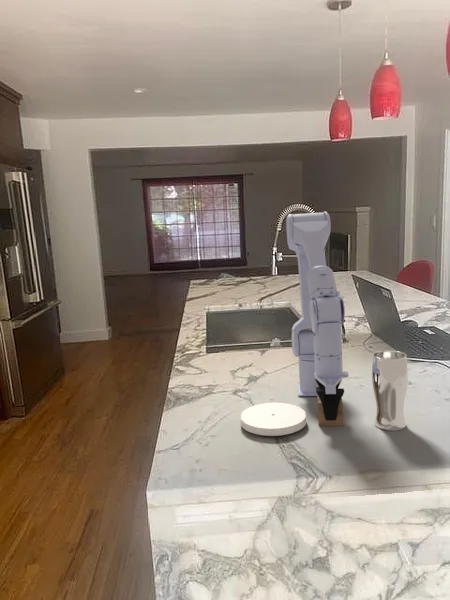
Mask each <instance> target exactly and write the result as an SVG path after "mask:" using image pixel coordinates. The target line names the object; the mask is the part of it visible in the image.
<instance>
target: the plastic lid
mask: <svg viewBox="0 0 450 600" xmlns="http://www.w3.org/2000/svg"><path fill="white" fill-rule="evenodd" d="M239 417H240V426H241V427H242V428H243V429H244V431H246V432H249V433H252V434H254V435H257V436H259V435H260V436H267V437H278V436H279V437H280V436H284V435H289V434H290V435H291V434H295V433H296V432H299V431H301V430H302V429H303V428H304V427H305V426H306V424H307V413H306V411H305V410H304V408H302V407H300V406H299V405H294V404H291V403H288V402H287V403H285V402H264V403H259V404H254V405H251V406H250V407H249V406H248V407H247V408H245V409H244V410H243V411H242V412H241V413H240V416H239Z"/></svg>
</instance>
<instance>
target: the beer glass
mask: <svg viewBox="0 0 450 600" xmlns="http://www.w3.org/2000/svg"><path fill="white" fill-rule="evenodd" d="M371 360H372V361H371V384H372V387H373V388H372V389H373V393H374V398H375V399H374V400H375V405H376V414H375V419H374V426H375V427H377V428H378V429H380V430H383V431H388V432H397V431H402V430H403V429H405V428H406V425H407V424H406V418H405V414H404V407H405V401H406V400H405V399H406V394H407V390H408V389H407V388H408V380H409V375H408V374H409V373H408V370H409V369H408V359H407V354H406V353H404V352H403V351H398V350H391V349H390V350H378V351H374V352H373V353H372V359H371Z"/></svg>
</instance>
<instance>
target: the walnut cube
mask: <svg viewBox="0 0 450 600" xmlns="http://www.w3.org/2000/svg"><path fill="white" fill-rule="evenodd" d="M316 397H317V416H318V417H317V419H318V426H321V427H325V426H328V427H329V426H331V427H337V426H339V427H340V426H341V427H342V426H344V411H343V407H344V406H343V400H342V398H341V400H340V403H339V407H338V413H337V418H336V420H326V419H325V416H324V411H323V406H322V403H321V400H320V398H319V396H318V395H317V396H316Z"/></svg>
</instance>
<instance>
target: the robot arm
mask: <svg viewBox="0 0 450 600" xmlns="http://www.w3.org/2000/svg"><path fill="white" fill-rule="evenodd" d="M285 223H286V224H285V226H286V229H285V230H286V240H287V245H288V249H289V250H290V251H293V252H295V255H296V258H297V265H298V267H297V268H298V280H299V282H298V283H299V292H300V293H299V295H300V306H301V317H300V318H299V320H297V321H296V322H294V324H292V328H291V350H292V353H293V355H294V357H296V358H298V371H299V372H298V374H299V376H298V377H299V379H298V380H299V381H298V383H297V384H298V387H297V389H298V392H297V396H298V397H317V395H318V396H319V398H320V400H321V403H322V406H323V411H324V416H325V419H326V420H336V418H337V413H338V407H339V403H340V400H341V398H342V397H343V396H344V393H345V388H339V387H340V385H341V382H342V380H343V379H344V378H349V372H348V371H343V368H344V367H343V341H342V340H343V339H342V337H343V335H342V331H343V330H342V324H343V323H344V321H345V315H346V311H345V309H346V308H345V303H344V299H343V296H342V295H341V292H340V291H338V289H337V285H336V280H335V276H334V275H335V274H334V271H333V269H332V268H331V267H330V266H327V260H326V251H325V249H326V248H325V247H326V246H327V245H326V244H327V243H328V239H329V237H330V235H331V228H332V227H331V226H332V225H331V217H330V214H329V213H328V212H327V211H323V212H311V213H295V214H292V213H289V214H288V215H287V216H286V221H285Z"/></svg>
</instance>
